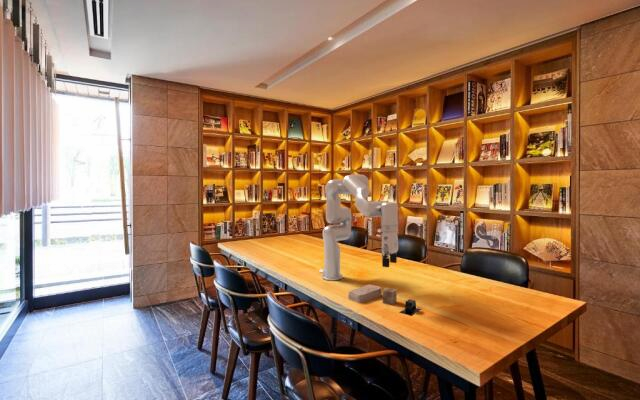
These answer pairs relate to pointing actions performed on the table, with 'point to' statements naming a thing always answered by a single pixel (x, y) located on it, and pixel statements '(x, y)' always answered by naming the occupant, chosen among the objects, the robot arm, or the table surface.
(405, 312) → the black piece
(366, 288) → the brick
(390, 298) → the brown wooden block
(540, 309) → the table surface
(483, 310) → the table surface
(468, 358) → the table surface
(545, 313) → the table surface
